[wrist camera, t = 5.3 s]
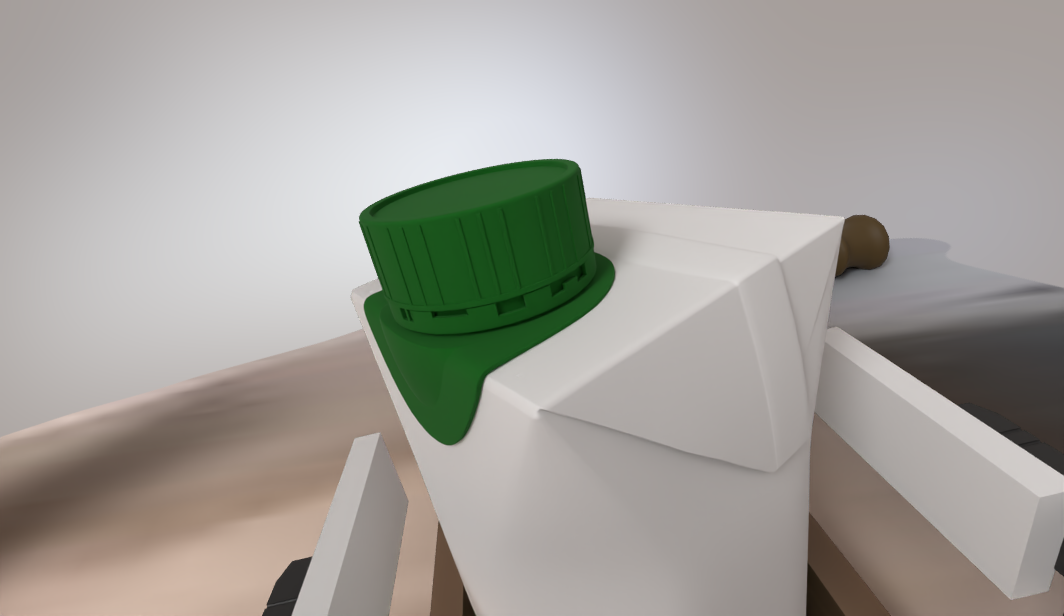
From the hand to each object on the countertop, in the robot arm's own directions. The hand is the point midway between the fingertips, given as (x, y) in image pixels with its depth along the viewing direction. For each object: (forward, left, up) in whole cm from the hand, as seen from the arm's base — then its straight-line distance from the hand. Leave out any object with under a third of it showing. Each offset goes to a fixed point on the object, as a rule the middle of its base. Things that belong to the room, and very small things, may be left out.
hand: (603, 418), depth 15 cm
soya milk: (0, -2, -12) cm, 12 cm away
